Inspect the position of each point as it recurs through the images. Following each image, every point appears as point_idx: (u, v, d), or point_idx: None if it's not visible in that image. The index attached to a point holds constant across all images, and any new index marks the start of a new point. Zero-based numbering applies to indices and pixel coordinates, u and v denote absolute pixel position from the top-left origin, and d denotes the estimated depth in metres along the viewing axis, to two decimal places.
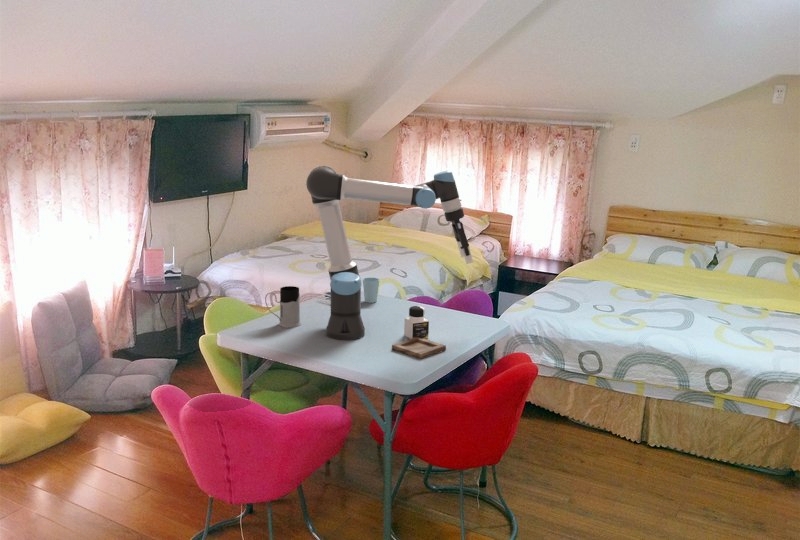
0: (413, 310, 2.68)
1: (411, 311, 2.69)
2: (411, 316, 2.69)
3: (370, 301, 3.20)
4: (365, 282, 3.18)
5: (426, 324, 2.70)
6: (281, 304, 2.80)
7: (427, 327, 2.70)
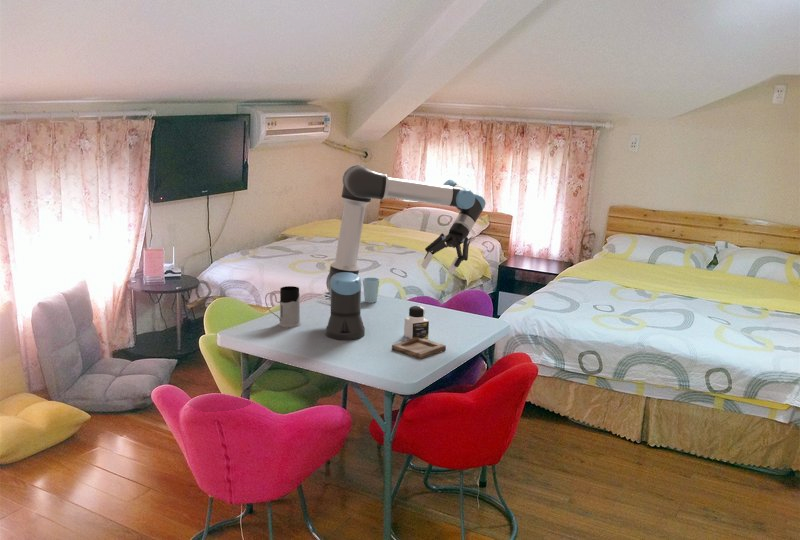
0: (413, 310, 2.68)
1: (411, 311, 2.69)
2: (411, 316, 2.69)
3: (370, 301, 3.20)
4: (365, 282, 3.18)
5: (426, 324, 2.70)
6: (281, 304, 2.80)
7: (427, 327, 2.70)
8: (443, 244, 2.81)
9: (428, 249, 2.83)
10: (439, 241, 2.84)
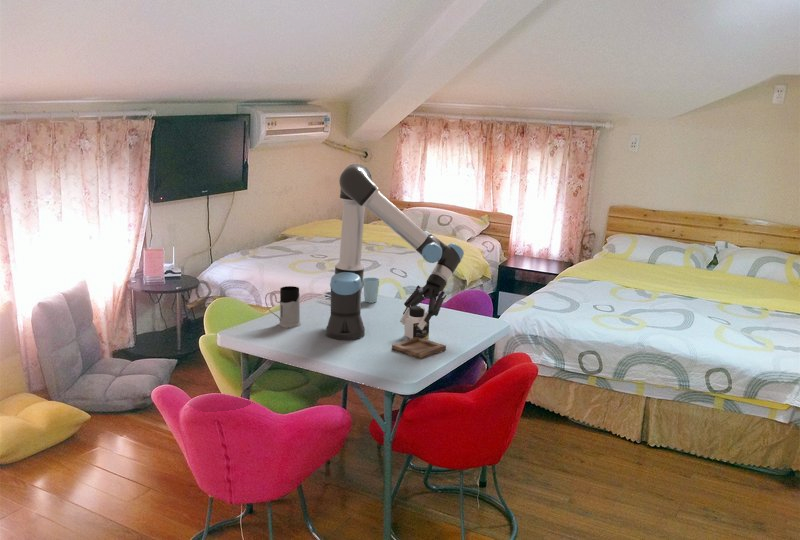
0: (413, 310, 2.68)
1: (411, 311, 2.69)
2: (411, 316, 2.69)
3: (370, 301, 3.20)
4: (365, 282, 3.18)
5: (427, 324, 2.70)
6: (281, 304, 2.80)
7: (427, 327, 2.70)
8: (421, 297, 2.75)
9: (407, 303, 2.76)
10: (417, 294, 2.78)
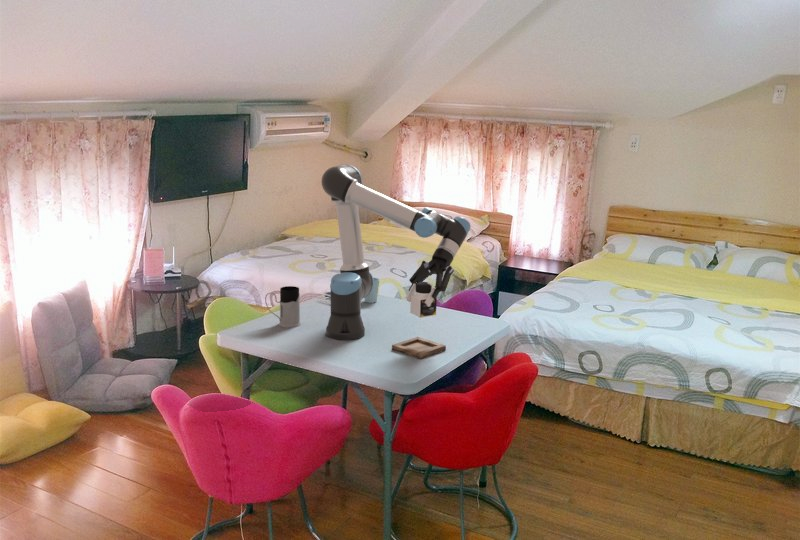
0: (420, 286, 2.55)
1: (418, 287, 2.56)
2: (418, 292, 2.56)
3: (370, 301, 3.20)
4: None
5: (434, 300, 2.58)
6: (281, 304, 2.80)
7: (435, 304, 2.58)
8: (427, 272, 2.63)
9: (413, 280, 2.64)
10: (422, 269, 2.65)
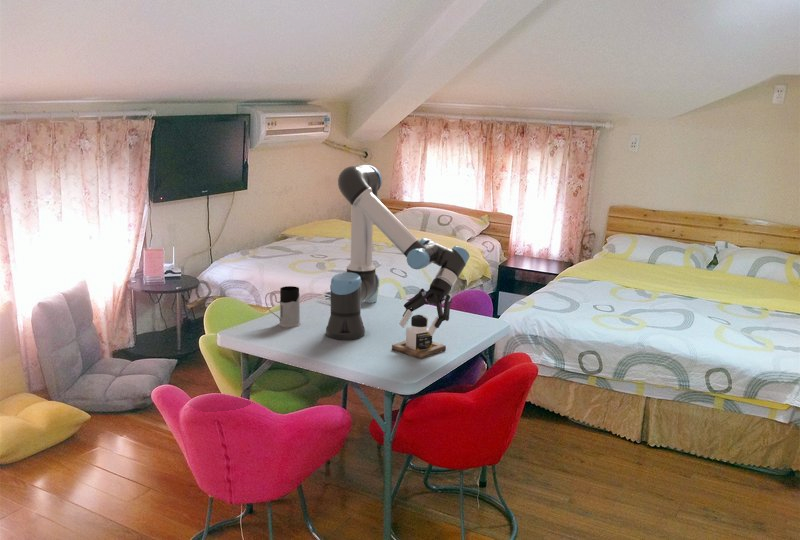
0: (416, 319, 2.53)
1: (414, 321, 2.53)
2: (414, 326, 2.54)
3: (370, 301, 3.20)
4: None
5: None
6: (281, 304, 2.80)
7: (431, 337, 2.56)
8: (423, 301, 2.60)
9: (407, 306, 2.63)
10: (419, 297, 2.63)
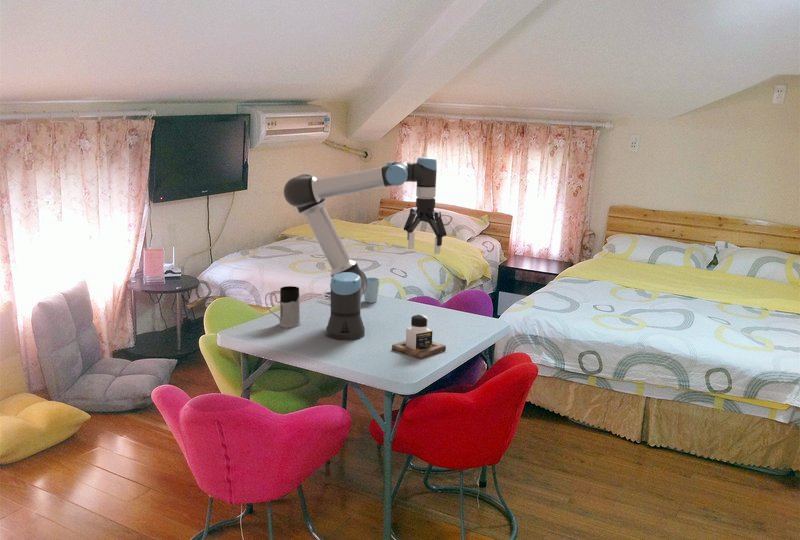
0: (416, 319, 2.53)
1: (414, 321, 2.53)
2: (414, 326, 2.54)
3: (370, 301, 3.20)
4: None
5: (430, 334, 2.55)
6: (281, 304, 2.80)
7: (431, 337, 2.56)
8: (417, 221, 2.76)
9: (406, 228, 2.81)
10: (412, 216, 2.79)
